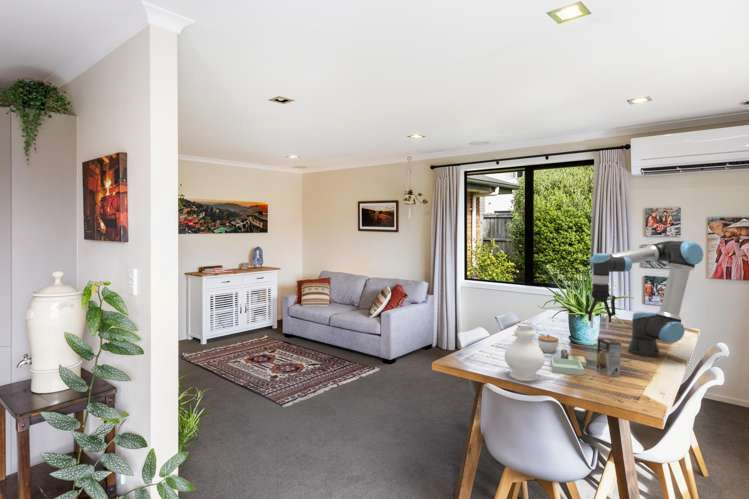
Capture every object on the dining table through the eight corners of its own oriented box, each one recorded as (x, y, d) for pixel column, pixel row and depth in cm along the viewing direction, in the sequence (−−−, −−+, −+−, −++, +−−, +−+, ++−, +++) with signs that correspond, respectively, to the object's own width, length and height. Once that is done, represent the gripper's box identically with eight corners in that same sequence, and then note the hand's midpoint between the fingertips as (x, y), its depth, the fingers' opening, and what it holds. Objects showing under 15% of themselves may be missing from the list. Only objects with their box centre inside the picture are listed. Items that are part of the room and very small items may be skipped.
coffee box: (596, 370, 216) (597, 338, 215) (608, 370, 216) (609, 337, 216) (607, 376, 207) (608, 343, 206) (620, 376, 207) (621, 342, 206)
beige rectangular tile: (583, 361, 232) (583, 356, 232) (586, 367, 222) (586, 362, 222) (566, 359, 234) (567, 355, 234) (569, 365, 225) (569, 360, 225)
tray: (579, 366, 222) (579, 360, 222) (583, 375, 208) (584, 369, 208) (550, 363, 226) (550, 357, 226) (553, 372, 212) (553, 366, 212)
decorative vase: (506, 368, 218) (507, 319, 217) (544, 373, 211) (545, 322, 210) (502, 380, 201) (503, 326, 200) (543, 385, 195) (544, 330, 193)
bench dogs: (566, 359, 234) (566, 349, 234) (568, 364, 226) (568, 354, 225) (560, 358, 235) (560, 349, 235) (562, 363, 226) (562, 353, 226)
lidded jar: (559, 354, 242) (560, 337, 242) (539, 353, 244) (540, 336, 244) (555, 349, 253) (556, 333, 252) (536, 348, 255) (536, 332, 254)
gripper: (620, 283, 224) (618, 327, 225) (578, 281, 230) (577, 325, 231) (624, 285, 217) (622, 331, 218) (580, 283, 223) (579, 328, 224)
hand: (599, 327), depth 224 cm, fingers open, 7 cm apart
